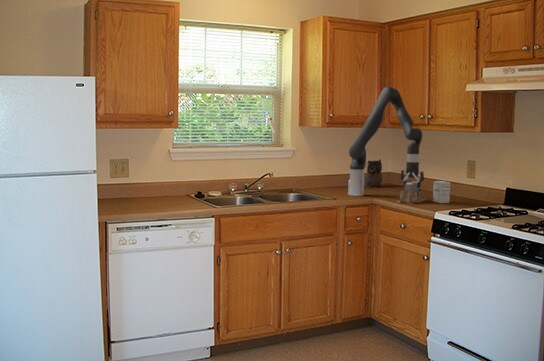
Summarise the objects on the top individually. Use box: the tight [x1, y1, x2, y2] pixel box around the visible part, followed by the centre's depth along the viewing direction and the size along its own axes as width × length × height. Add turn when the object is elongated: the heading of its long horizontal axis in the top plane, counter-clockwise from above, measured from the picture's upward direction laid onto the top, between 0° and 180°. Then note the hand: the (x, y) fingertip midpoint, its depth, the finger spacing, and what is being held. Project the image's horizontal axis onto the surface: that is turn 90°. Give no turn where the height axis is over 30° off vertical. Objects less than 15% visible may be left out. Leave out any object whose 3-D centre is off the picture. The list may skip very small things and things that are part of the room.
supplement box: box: [432, 180, 451, 204], centre depth 391 cm, size 7×7×13 cm
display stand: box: [396, 188, 427, 205], centre depth 393 cm, size 10×20×7 cm, turn 143°
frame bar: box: [404, 181, 421, 193], centre depth 392 cm, size 4×14×6 cm, turn 144°
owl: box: [364, 159, 383, 189], centre depth 465 cm, size 13×13×20 cm
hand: (411, 187), depth 392 cm, fingers open, 8 cm apart
